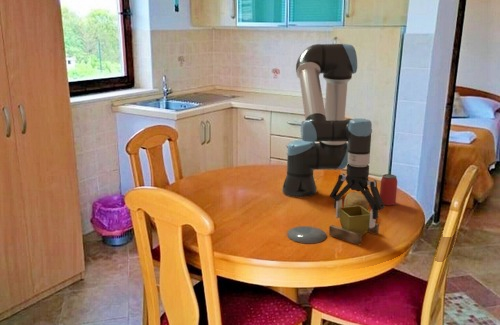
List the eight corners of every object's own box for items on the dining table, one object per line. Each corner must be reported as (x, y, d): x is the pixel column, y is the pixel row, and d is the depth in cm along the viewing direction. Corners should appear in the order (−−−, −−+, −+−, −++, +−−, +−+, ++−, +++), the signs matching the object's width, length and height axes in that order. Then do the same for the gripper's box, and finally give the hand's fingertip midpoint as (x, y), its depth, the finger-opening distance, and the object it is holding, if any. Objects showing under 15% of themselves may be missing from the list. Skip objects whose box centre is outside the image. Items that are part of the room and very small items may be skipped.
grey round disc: (278, 235, 175) (278, 234, 175) (302, 224, 185) (302, 223, 185) (311, 247, 166) (311, 246, 166) (334, 234, 176) (334, 233, 176)
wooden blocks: (329, 235, 176) (329, 226, 175) (349, 224, 185) (349, 215, 184) (358, 245, 168) (359, 235, 167) (378, 233, 178) (378, 224, 177)
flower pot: (371, 237, 174) (372, 213, 171) (348, 240, 171) (349, 216, 169) (358, 228, 182) (360, 205, 180) (337, 230, 180) (338, 207, 177)
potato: (362, 206, 203) (363, 188, 201) (373, 219, 190) (374, 200, 187) (338, 207, 202) (339, 189, 200) (348, 220, 189) (349, 201, 187)
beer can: (396, 206, 203) (398, 178, 200) (379, 205, 204) (381, 177, 201) (394, 201, 209) (397, 174, 206) (378, 200, 211) (380, 173, 207)
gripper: (321, 160, 175) (319, 216, 181) (386, 173, 159) (381, 234, 164) (333, 156, 180) (330, 211, 186) (397, 168, 164) (392, 228, 170)
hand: (354, 222), depth 175 cm, fingers open, 13 cm apart
